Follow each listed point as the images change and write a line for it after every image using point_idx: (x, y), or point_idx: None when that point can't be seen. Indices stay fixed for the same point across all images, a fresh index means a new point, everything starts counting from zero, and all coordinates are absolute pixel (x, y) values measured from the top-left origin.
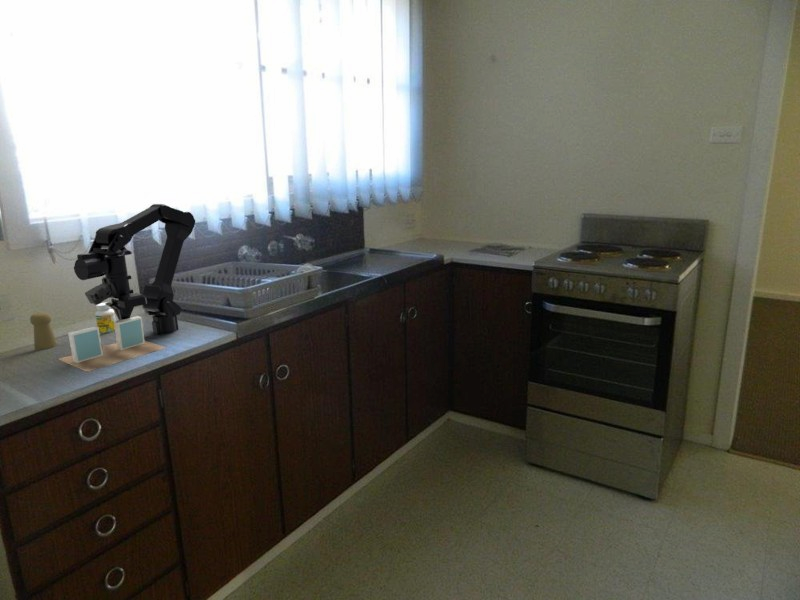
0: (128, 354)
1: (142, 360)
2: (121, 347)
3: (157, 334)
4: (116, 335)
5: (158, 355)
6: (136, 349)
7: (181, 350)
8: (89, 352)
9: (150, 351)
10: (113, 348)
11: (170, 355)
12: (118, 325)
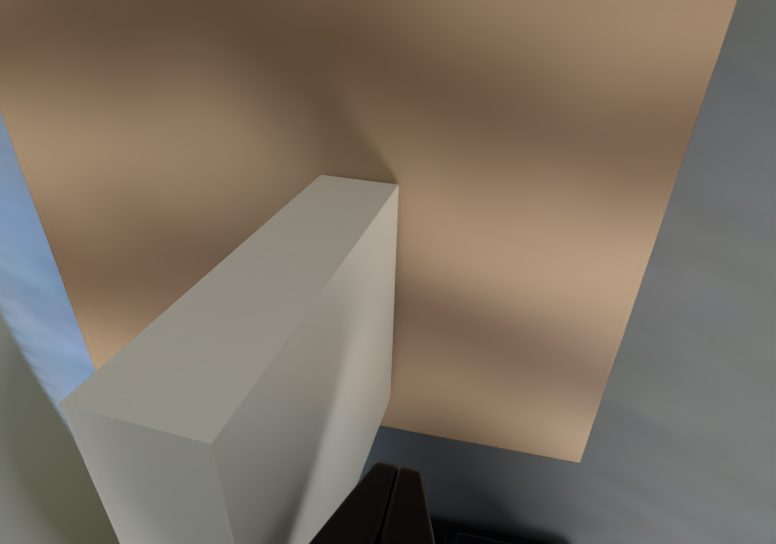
0: (122, 130)
1: (6, 143)
2: (309, 194)
3: (461, 540)
4: (316, 262)
5: (56, 274)
6: (221, 257)
7: (66, 390)
8: None
9: (79, 273)
10: (462, 172)
11: (6, 305)
12: (108, 374)
